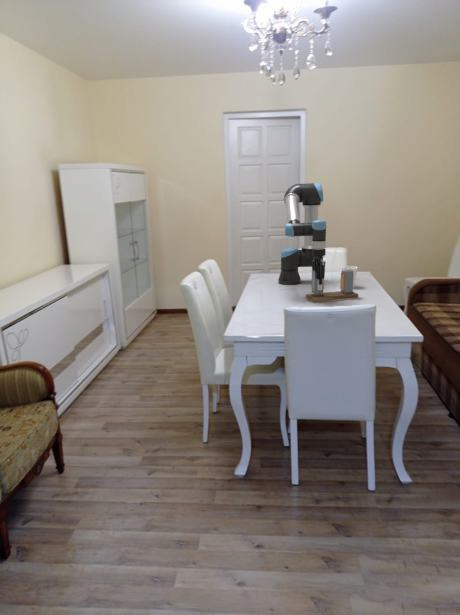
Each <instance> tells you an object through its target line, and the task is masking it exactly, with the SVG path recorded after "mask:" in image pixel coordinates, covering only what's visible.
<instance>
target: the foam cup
mask: <svg viewBox="0 0 460 615" xmlns="http://www.w3.org/2000/svg"><path fill="white" fill-rule="evenodd" d="M358 268H359V267H358V266H354V265H344V266H342V267H341V272H342V271H345V270H351V271H354V274H353V289H354V288H355V286H356V285H355V284H356V279H357V273H358Z"/></svg>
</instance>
